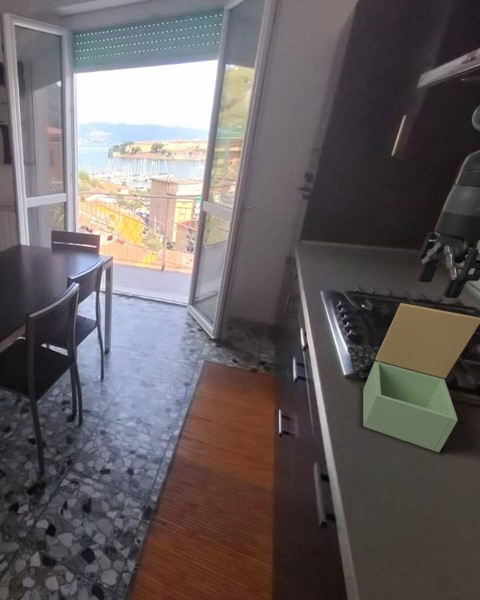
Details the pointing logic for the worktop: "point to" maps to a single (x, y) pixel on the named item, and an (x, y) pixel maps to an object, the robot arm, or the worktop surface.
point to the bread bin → (408, 406)
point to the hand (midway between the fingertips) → (436, 289)
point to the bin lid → (426, 339)
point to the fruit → (363, 359)
